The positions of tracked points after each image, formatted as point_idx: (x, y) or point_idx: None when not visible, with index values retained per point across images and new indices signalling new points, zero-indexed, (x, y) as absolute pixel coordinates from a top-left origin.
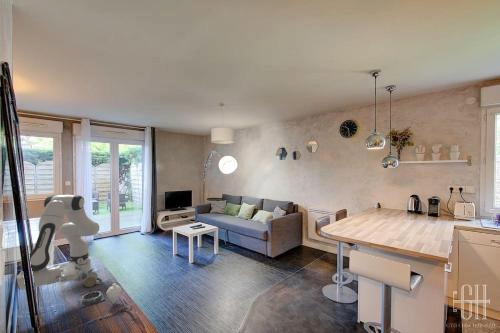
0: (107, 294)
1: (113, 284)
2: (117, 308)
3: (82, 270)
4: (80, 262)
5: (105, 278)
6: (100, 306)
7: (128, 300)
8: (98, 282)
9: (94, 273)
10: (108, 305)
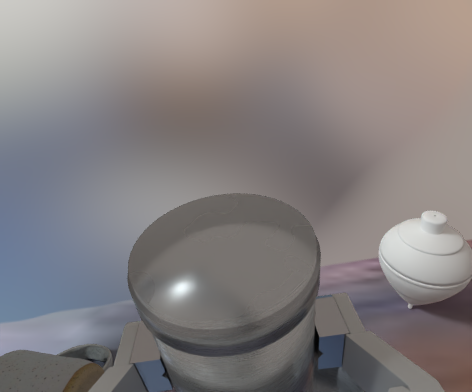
0: (464, 283)
1: (444, 218)
2: (468, 294)
3: (361, 332)
4: (254, 273)
5: (62, 333)
6: (431, 371)
7: None
8: (109, 363)
9: (22, 358)
10: (426, 330)
